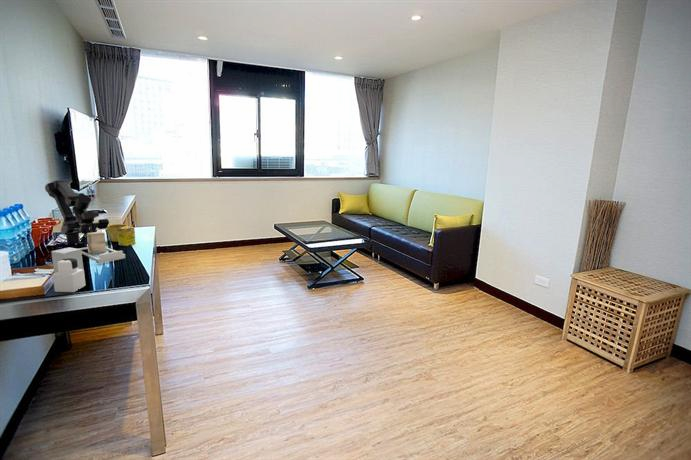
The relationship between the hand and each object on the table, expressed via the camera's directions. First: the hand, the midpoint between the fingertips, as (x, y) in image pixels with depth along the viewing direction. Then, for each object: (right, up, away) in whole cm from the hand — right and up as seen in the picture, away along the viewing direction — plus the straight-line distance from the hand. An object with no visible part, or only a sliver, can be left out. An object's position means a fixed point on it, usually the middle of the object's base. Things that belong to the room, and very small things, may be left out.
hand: (93, 238), depth 181 cm
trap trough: (+4, -8, -1) cm, 9 cm away
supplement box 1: (+14, -16, -33) cm, 39 cm away
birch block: (+2, -7, 0) cm, 7 cm away
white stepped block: (+21, -19, -43) cm, 51 cm away
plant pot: (-3, -3, +24) cm, 25 cm away
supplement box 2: (+7, -5, +17) cm, 19 cm away
